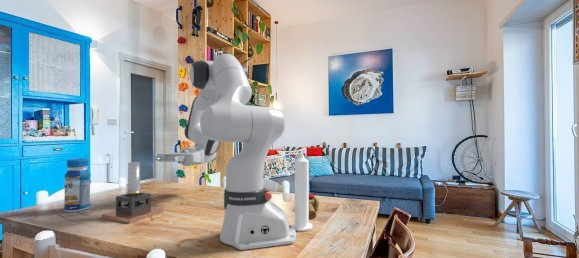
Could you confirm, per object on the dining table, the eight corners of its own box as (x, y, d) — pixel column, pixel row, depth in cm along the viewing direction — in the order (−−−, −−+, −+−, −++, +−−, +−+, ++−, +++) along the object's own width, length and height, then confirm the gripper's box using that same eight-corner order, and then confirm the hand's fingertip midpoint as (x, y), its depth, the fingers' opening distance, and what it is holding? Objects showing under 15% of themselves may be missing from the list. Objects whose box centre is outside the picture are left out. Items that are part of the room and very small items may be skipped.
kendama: (325, 221, 97) (317, 201, 115) (322, 205, 96) (315, 188, 114) (304, 225, 97) (299, 205, 115) (301, 209, 96) (297, 191, 114)
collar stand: (136, 208, 108) (137, 189, 109) (163, 212, 103) (163, 192, 103) (101, 218, 95) (101, 197, 96) (129, 223, 90) (130, 201, 90)
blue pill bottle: (92, 209, 107) (93, 159, 107) (65, 214, 100) (65, 160, 101) (88, 205, 112) (88, 157, 113) (61, 209, 106) (62, 159, 106)
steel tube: (142, 209, 102) (143, 161, 102) (137, 212, 98) (137, 163, 98) (130, 209, 101) (131, 162, 102) (124, 212, 97) (125, 163, 97)
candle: (311, 232, 83) (311, 151, 83) (288, 230, 85) (288, 151, 85) (313, 224, 90) (313, 150, 90) (292, 223, 91) (293, 149, 92)
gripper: (171, 149, 127) (146, 150, 115) (206, 149, 120) (184, 151, 107) (171, 162, 127) (146, 165, 114) (206, 163, 120) (184, 166, 107)
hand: (164, 158), depth 111 cm, fingers open, 8 cm apart
